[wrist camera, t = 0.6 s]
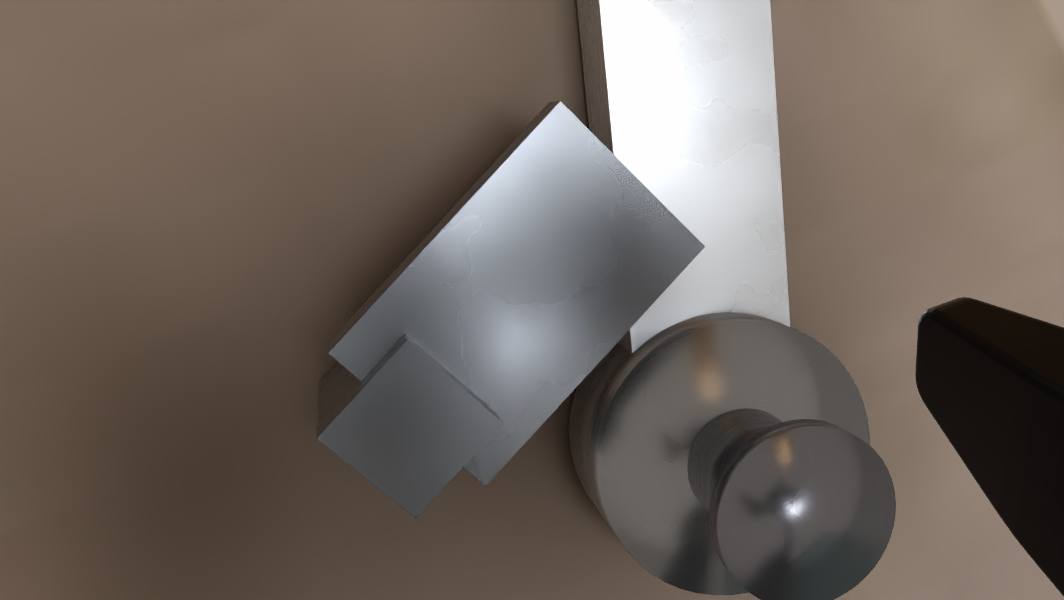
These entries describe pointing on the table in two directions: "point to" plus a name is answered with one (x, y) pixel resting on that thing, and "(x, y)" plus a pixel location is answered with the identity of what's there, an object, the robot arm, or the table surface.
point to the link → (694, 273)
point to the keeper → (498, 313)
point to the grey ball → (792, 503)
